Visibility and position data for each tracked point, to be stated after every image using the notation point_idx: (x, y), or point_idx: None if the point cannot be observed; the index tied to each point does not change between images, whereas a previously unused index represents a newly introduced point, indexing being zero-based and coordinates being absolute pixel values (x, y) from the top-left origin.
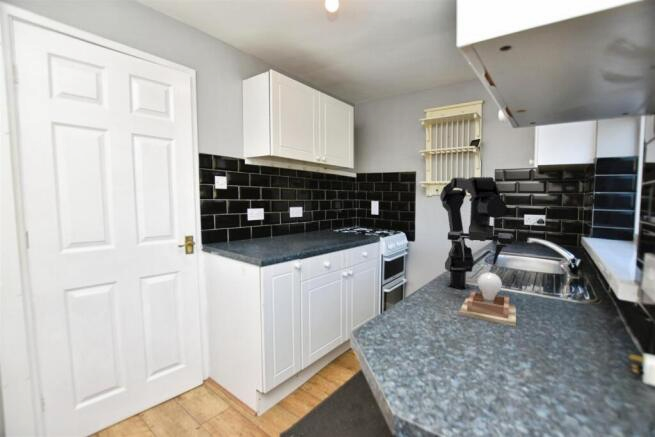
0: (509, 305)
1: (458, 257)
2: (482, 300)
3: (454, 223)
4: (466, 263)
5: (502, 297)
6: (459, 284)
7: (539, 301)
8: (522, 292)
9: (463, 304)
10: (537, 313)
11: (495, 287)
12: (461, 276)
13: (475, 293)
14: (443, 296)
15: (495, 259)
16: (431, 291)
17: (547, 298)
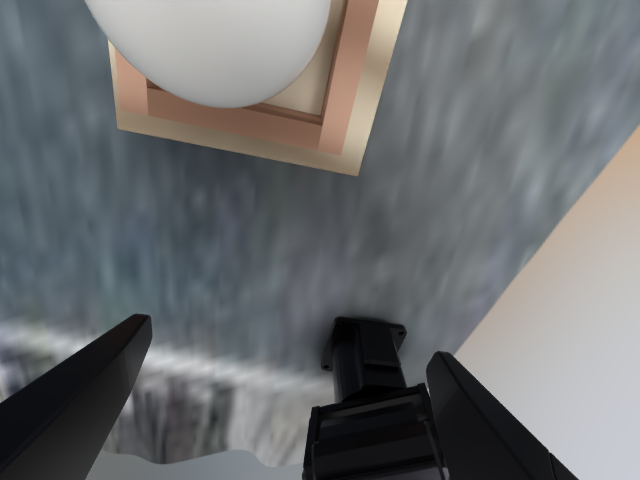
0: (147, 124)
1: (413, 468)
2: (282, 109)
3: None
4: (349, 435)
5: (160, 89)
6: (363, 330)
7: (50, 277)
8: None
9: (392, 39)
10: (26, 108)
11: None
12: (360, 367)
13: (321, 125)
14: (451, 201)
15: (89, 353)
16: (491, 251)
17: (30, 319)
